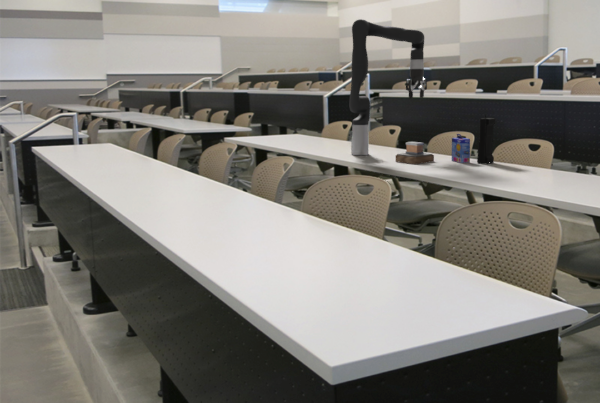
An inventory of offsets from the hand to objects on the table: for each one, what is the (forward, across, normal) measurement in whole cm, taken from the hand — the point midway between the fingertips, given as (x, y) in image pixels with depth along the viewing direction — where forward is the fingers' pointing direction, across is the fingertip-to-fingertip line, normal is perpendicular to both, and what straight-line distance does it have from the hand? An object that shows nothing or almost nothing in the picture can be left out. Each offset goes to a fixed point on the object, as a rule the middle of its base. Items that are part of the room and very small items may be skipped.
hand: (416, 98), depth 355 cm
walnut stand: (+32, -19, -17) cm, 41 cm away
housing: (+28, -19, -17) cm, 38 cm away
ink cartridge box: (+32, -3, -34) cm, 47 cm away
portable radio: (+32, +2, -46) cm, 56 cm away
